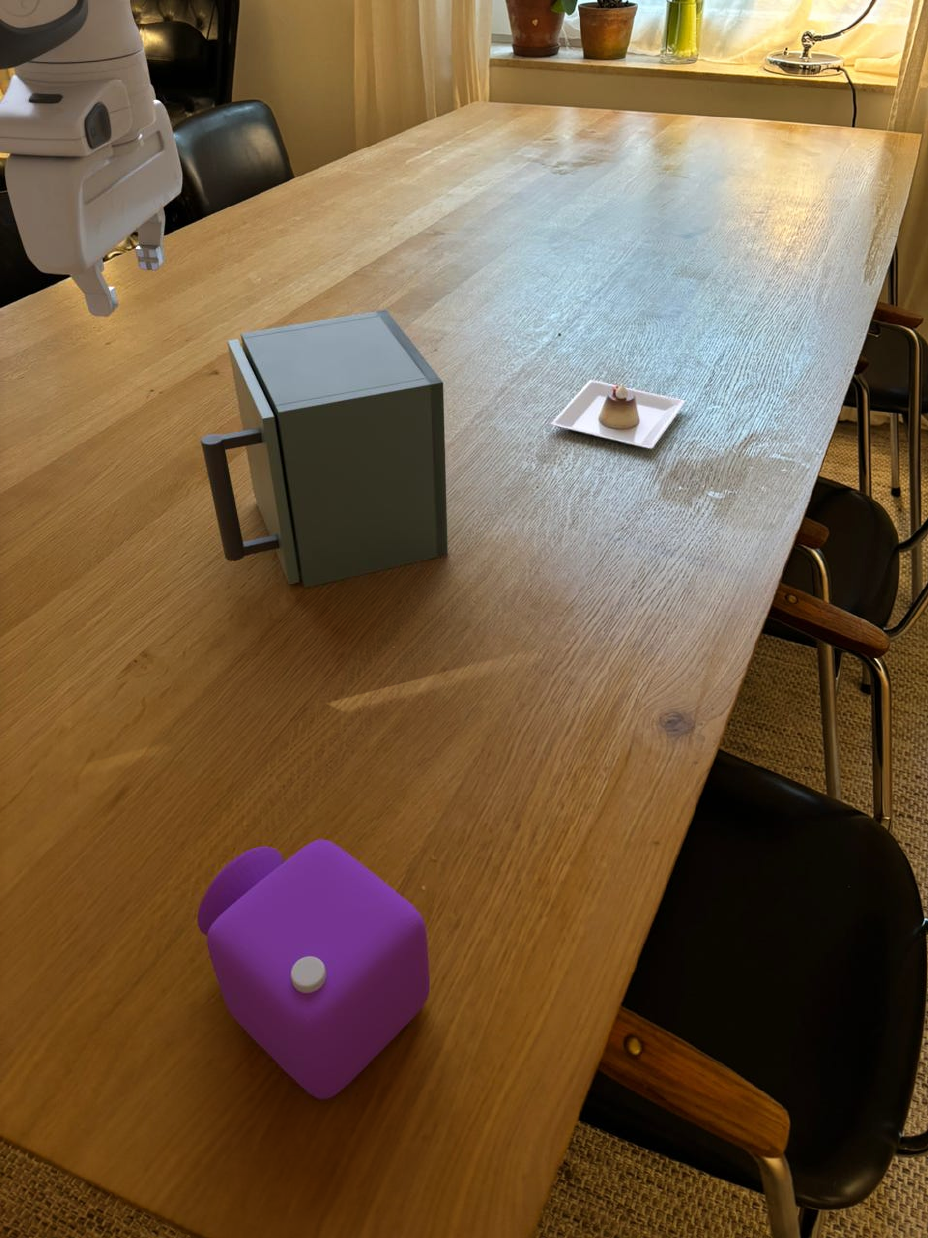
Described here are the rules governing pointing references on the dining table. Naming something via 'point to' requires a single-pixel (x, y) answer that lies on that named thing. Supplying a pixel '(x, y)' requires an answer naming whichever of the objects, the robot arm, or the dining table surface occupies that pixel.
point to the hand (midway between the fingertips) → (130, 289)
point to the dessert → (619, 414)
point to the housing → (355, 443)
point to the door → (263, 470)
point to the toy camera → (315, 959)
